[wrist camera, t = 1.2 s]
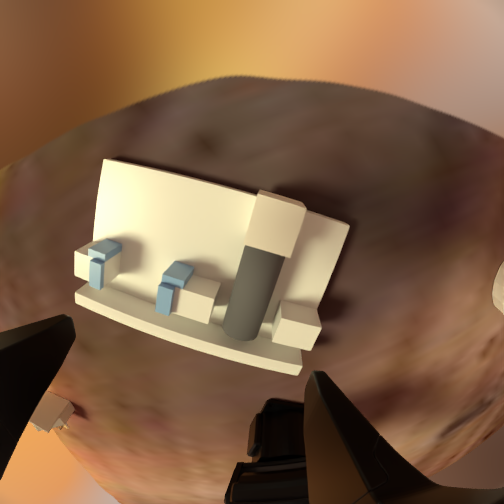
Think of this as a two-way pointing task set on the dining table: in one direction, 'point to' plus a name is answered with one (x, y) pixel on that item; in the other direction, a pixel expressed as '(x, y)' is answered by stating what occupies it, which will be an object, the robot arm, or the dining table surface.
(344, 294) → the dining table surface
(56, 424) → the architectural model
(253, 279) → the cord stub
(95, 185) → the dining table surface
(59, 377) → the dining table surface
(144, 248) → the backplate with stepped blocks
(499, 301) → the white cup
